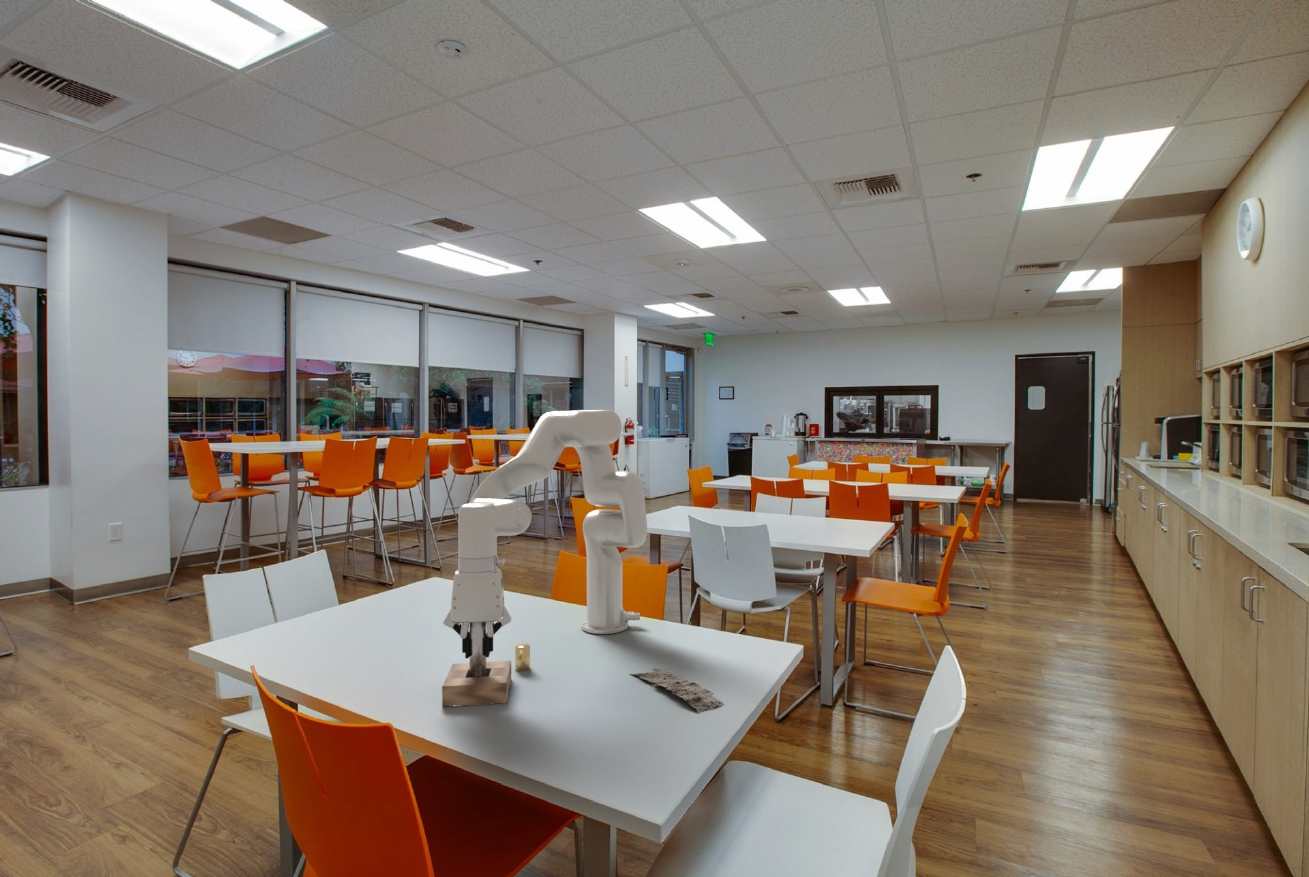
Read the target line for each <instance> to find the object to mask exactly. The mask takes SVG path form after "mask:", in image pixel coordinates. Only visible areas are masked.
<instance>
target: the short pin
mask: <svg viewBox="0 0 1309 877" xmlns="http://www.w3.org/2000/svg"><path fill="white" fill-rule="evenodd" d="M514 648H515V649H514V652H515V653H514V654H515V655H514V656H515V658H514V659H515V660H514V662H515V665H514V666H515V668H514V669H515V671H516V672H528V671H529V670H530V669H531V655H530V654H531V645H530V644H528V643H520V644H516V645H515V646H514Z"/></svg>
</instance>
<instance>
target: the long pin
mask: <svg viewBox="0 0 1309 877" xmlns="http://www.w3.org/2000/svg"><path fill="white" fill-rule="evenodd" d="M469 632H470V657H469V663H470V678H472V677H485V676H486V662H487V657H485V637H486V633H487V627H486V622H474V623H469Z"/></svg>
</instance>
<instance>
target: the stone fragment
mask: <svg viewBox="0 0 1309 877" xmlns="http://www.w3.org/2000/svg"><path fill="white" fill-rule="evenodd" d="M650 670H652V671H650V672H637V673H630V674H629V675H632V676H637V677H639V678H640V679H643V680H646V681H648V682H649V683H652V684H651V685H652V687H658V686H660V687H661V686H662V687H664V689H666V690H669V691H671V694H672V695H676V696H678V697H679V698H682V699H683V700H684V701H685V702H686V704H688V705H689V706H690V707H692V708H694V709H696V713H697V714H699V713H703V712H705V711H713V710H714V709H715V707H720V706H724V705H725V704H724V703H723V701H722V700H719V699H717V698H716V697H714V696H713V695H714V694H715V693H714V692H713V691H710V690H708V689H707V688H705V687H703V686H702V685H700V684H698V683H696V682H694V681H692V682H691V681H688V680H686V679H685V678H684V677H681V676H679V675H677V674H675V673H673V672H672V671H670V670H669V671H668V670H665V669H664V670H661V669H658V668H654V667H650Z"/></svg>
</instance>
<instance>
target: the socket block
mask: <svg viewBox="0 0 1309 877" xmlns="http://www.w3.org/2000/svg"><path fill="white" fill-rule="evenodd" d="M511 683H512V660H502V661H501V660H500V661H499V660H497V661H486V676H485V677H472V678H470V662H463V663H460V662H459V663H452V665H451V667H450V669H449V671H448V674H447V676H446V677H445V680H444V682H443V684H442V685H441V694H442V695H441V702H442V703H441V706H453V705H470V706H479V705H478V704H486V705H492V704H491V703H502V704H507V703H508V696H509V692H510V687H511Z"/></svg>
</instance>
